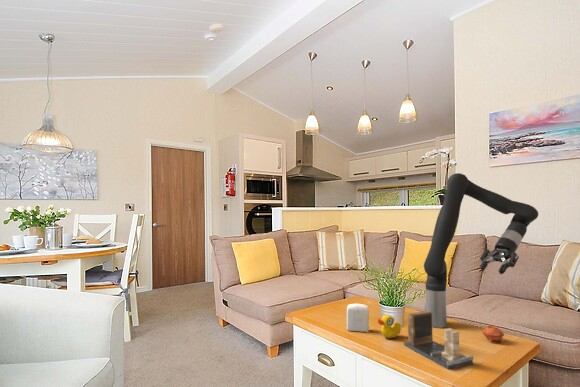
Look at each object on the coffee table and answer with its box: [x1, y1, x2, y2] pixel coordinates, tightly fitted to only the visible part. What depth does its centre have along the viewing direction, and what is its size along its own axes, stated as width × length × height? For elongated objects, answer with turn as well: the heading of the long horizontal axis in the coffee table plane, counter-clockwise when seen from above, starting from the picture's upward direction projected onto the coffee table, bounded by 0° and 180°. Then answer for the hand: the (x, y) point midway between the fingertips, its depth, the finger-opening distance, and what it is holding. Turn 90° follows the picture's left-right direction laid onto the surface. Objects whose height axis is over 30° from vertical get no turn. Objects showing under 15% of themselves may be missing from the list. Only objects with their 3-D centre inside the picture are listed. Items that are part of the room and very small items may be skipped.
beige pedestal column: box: [442, 328, 464, 360], centre depth 128 cm, size 5×5×10 cm
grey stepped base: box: [403, 340, 474, 370], centre depth 135 cm, size 23×12×3 cm, turn 22°
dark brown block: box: [407, 310, 434, 345], centre depth 143 cm, size 4×10×12 cm, turn 112°
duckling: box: [377, 314, 401, 339], centre depth 152 cm, size 11×5×10 cm, turn 109°
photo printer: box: [346, 303, 370, 333], centre depth 162 cm, size 10×4×12 cm, turn 81°
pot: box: [482, 325, 504, 344], centre depth 148 cm, size 8×8×7 cm
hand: (490, 271), depth 145 cm, fingers open, 8 cm apart
